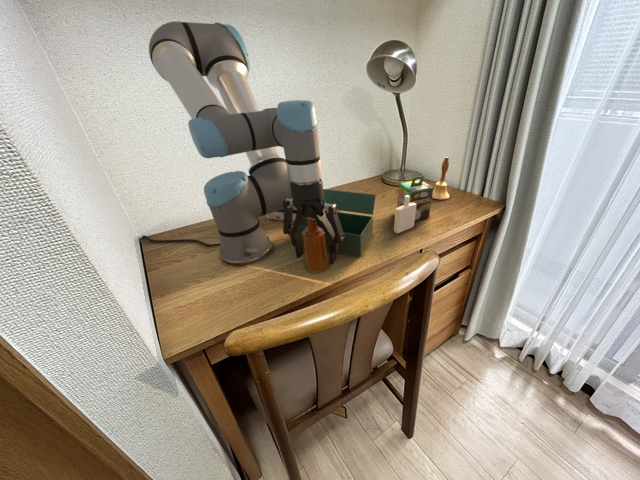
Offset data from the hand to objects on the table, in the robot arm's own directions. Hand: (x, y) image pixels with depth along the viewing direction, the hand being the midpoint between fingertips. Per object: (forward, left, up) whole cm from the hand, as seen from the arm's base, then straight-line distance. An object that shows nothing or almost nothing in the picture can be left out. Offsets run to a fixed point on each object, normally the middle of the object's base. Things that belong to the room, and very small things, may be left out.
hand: (316, 258), depth 73 cm
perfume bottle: (+19, +28, -3) cm, 34 cm away
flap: (0, +22, +8) cm, 23 cm away
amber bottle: (0, 0, -3) cm, 3 cm away
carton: (0, +14, -3) cm, 14 cm away
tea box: (-25, +26, -3) cm, 36 cm away
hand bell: (+28, +61, -3) cm, 67 cm away
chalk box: (+20, +40, -3) cm, 45 cm away
